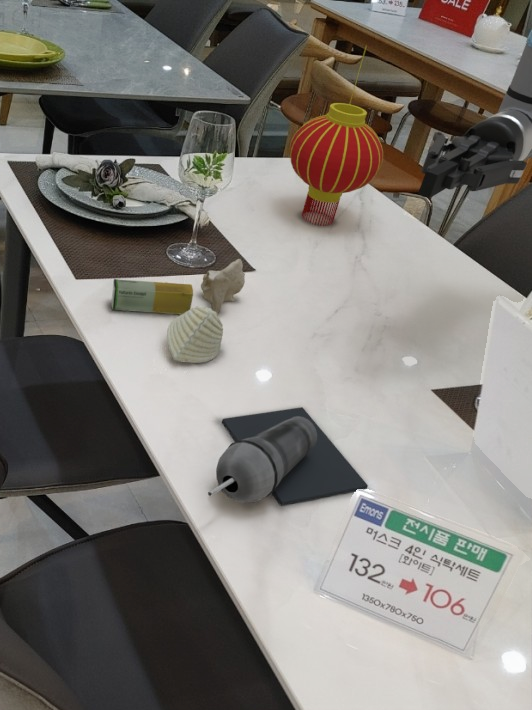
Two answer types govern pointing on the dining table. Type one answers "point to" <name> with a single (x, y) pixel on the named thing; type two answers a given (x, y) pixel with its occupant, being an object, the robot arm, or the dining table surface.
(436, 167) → the robot arm
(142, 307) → the medication box
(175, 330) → the seashell
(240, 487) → the beverage cup
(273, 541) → the dining table surface
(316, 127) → the lantern
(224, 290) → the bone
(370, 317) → the dining table surface
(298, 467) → the mat
